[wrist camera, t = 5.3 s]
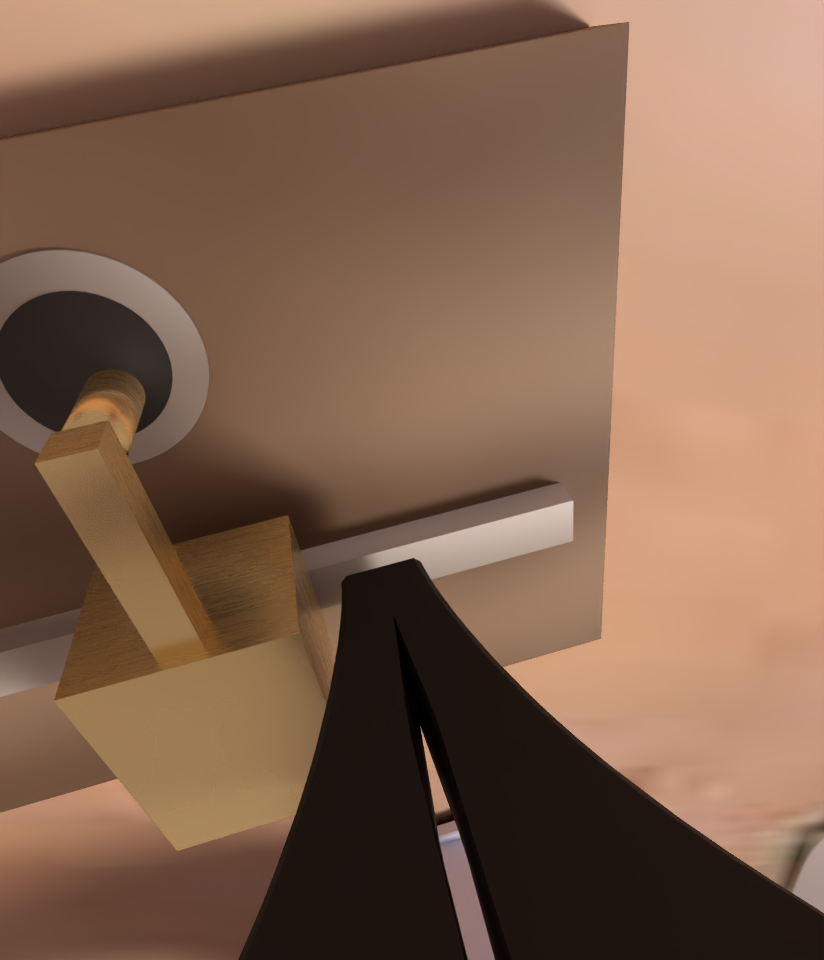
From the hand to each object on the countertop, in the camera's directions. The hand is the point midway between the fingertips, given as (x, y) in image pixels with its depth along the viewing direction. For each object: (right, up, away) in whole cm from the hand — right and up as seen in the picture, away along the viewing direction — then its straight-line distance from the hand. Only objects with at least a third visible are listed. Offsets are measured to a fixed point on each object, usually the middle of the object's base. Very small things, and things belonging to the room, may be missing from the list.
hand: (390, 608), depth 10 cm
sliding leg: (-3, +1, -1) cm, 3 cm away
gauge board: (-6, +1, +1) cm, 6 cm away
